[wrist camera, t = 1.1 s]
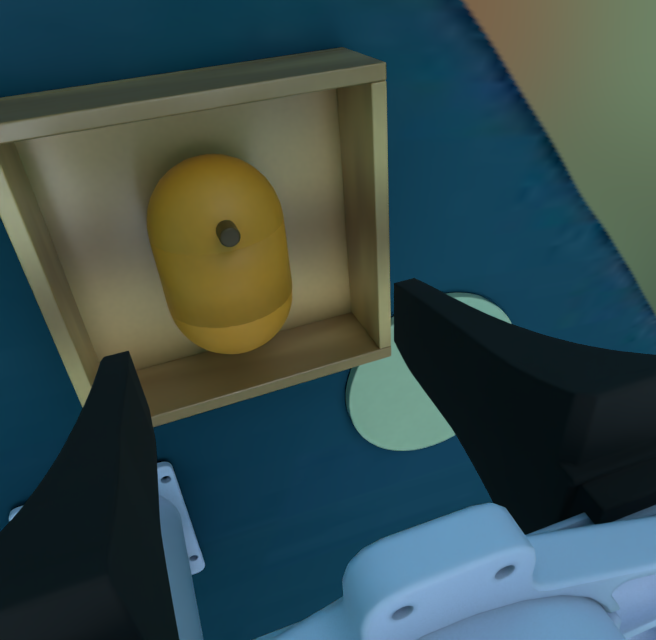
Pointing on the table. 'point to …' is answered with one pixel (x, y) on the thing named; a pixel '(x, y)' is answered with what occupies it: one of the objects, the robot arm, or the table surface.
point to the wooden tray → (134, 195)
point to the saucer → (400, 397)
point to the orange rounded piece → (221, 252)
